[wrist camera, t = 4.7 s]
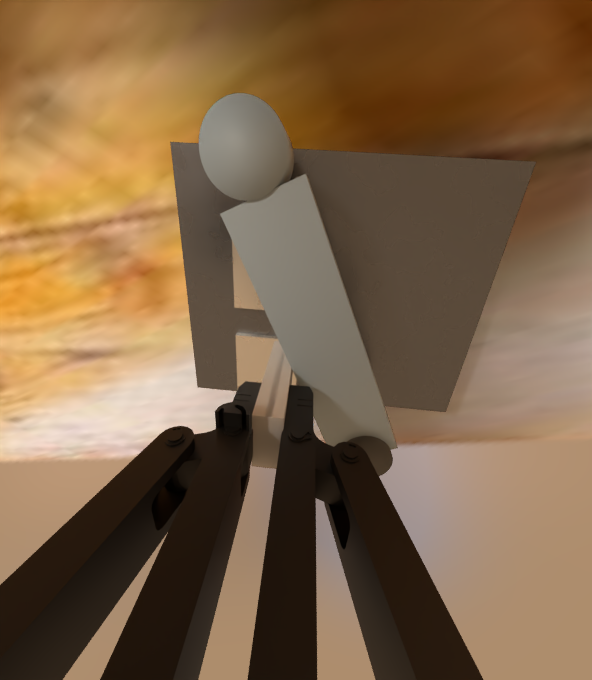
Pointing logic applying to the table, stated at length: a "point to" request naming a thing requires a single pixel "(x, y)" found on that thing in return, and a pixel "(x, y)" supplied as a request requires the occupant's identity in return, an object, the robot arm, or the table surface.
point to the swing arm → (294, 271)
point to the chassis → (361, 263)
